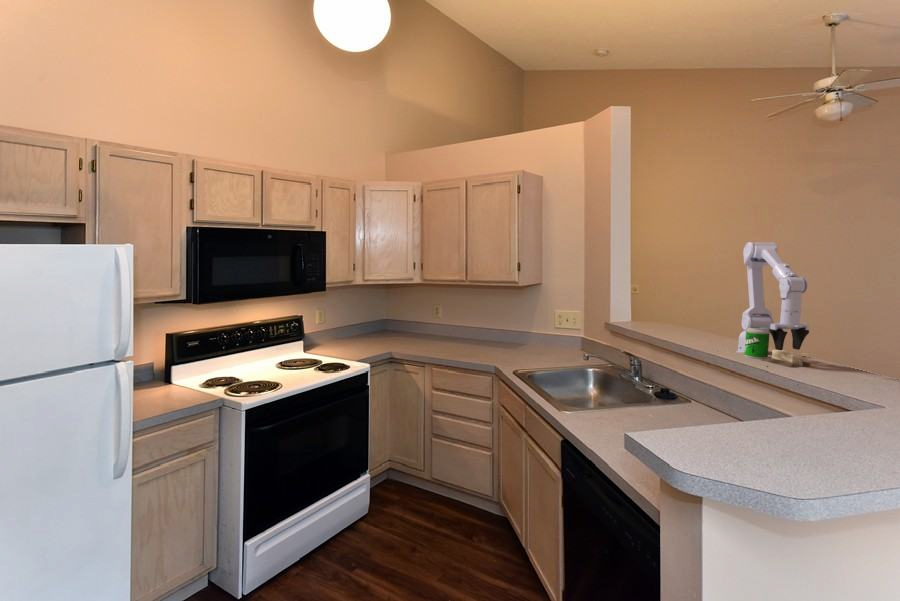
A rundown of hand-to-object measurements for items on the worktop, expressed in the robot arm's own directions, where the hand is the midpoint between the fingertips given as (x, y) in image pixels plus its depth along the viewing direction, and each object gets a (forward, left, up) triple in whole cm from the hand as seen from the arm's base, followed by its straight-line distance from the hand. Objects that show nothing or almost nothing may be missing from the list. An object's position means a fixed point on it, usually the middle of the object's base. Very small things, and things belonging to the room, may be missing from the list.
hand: (787, 349), depth 174 cm
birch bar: (0, 0, -5) cm, 5 cm away
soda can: (-11, -2, -6) cm, 13 cm away
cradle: (0, +5, -6) cm, 8 cm away
